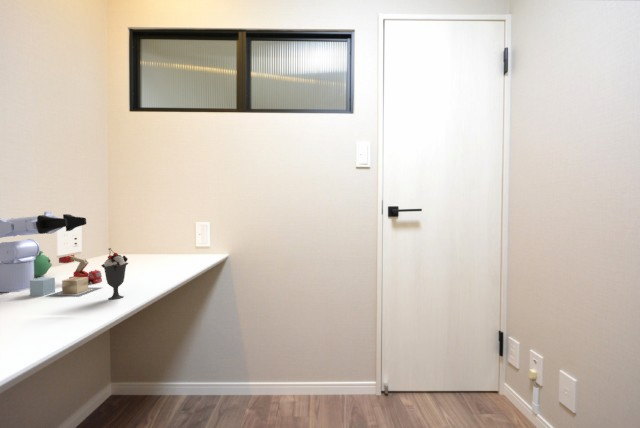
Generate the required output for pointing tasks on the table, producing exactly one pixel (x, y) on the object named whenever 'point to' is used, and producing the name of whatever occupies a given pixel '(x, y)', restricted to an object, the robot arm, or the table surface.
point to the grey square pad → (59, 294)
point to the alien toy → (41, 265)
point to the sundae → (115, 272)
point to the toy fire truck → (92, 276)
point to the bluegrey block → (42, 286)
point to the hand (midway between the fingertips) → (76, 221)
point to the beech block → (74, 285)
